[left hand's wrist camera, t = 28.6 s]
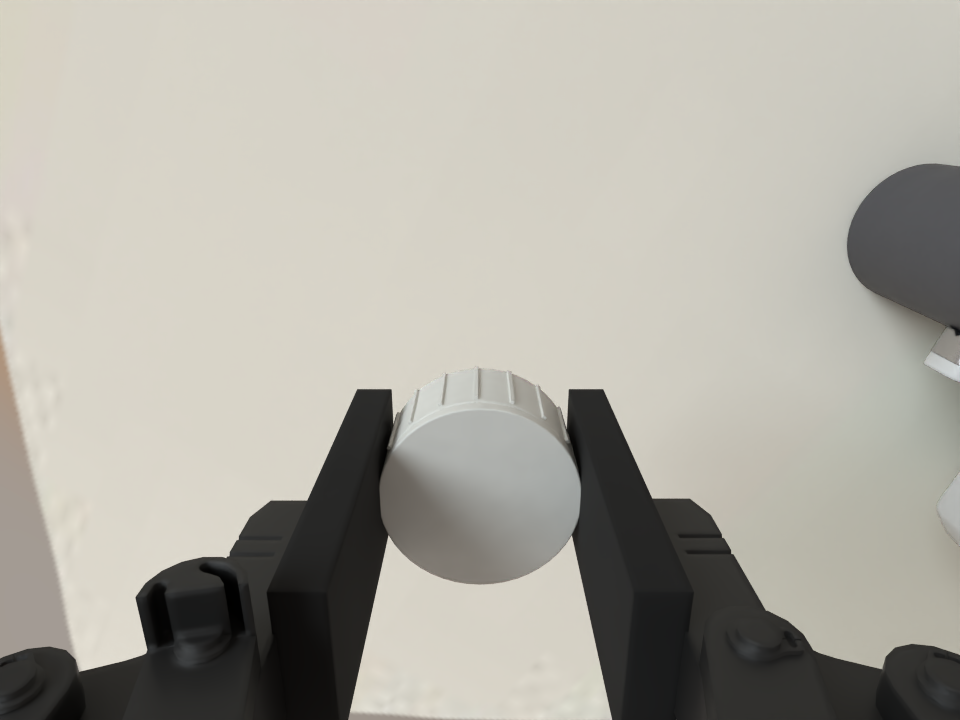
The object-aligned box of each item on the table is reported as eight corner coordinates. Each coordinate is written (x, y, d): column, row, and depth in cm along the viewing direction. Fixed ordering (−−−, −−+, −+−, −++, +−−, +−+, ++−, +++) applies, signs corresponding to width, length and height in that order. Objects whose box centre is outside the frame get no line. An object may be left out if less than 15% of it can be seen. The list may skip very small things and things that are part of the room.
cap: (354, 464, 15) (334, 518, 13) (463, 328, 14) (461, 365, 12) (494, 555, 16) (496, 619, 14) (608, 433, 15) (628, 484, 13)
